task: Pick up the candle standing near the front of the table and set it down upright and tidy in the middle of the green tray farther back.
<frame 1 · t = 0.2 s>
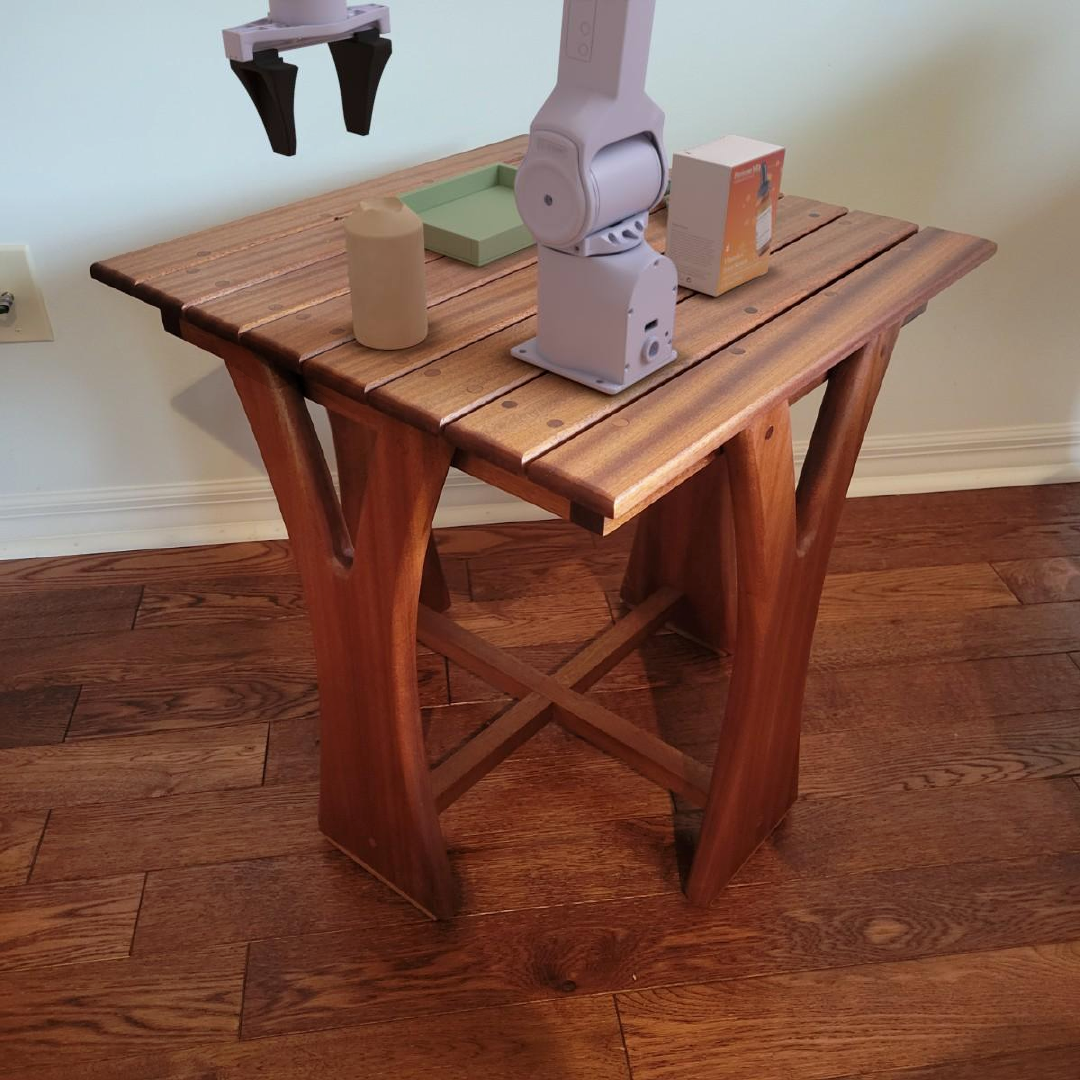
hand: (322, 143, 87), 10 cm above the table, tool pointing down, fingers open, 7 cm apart
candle: (391, 337, 82), on the table
small box: (715, 278, 92), on the table
green tray: (489, 221, 102), on the table
stuffed animal: (709, 215, 105), on the table
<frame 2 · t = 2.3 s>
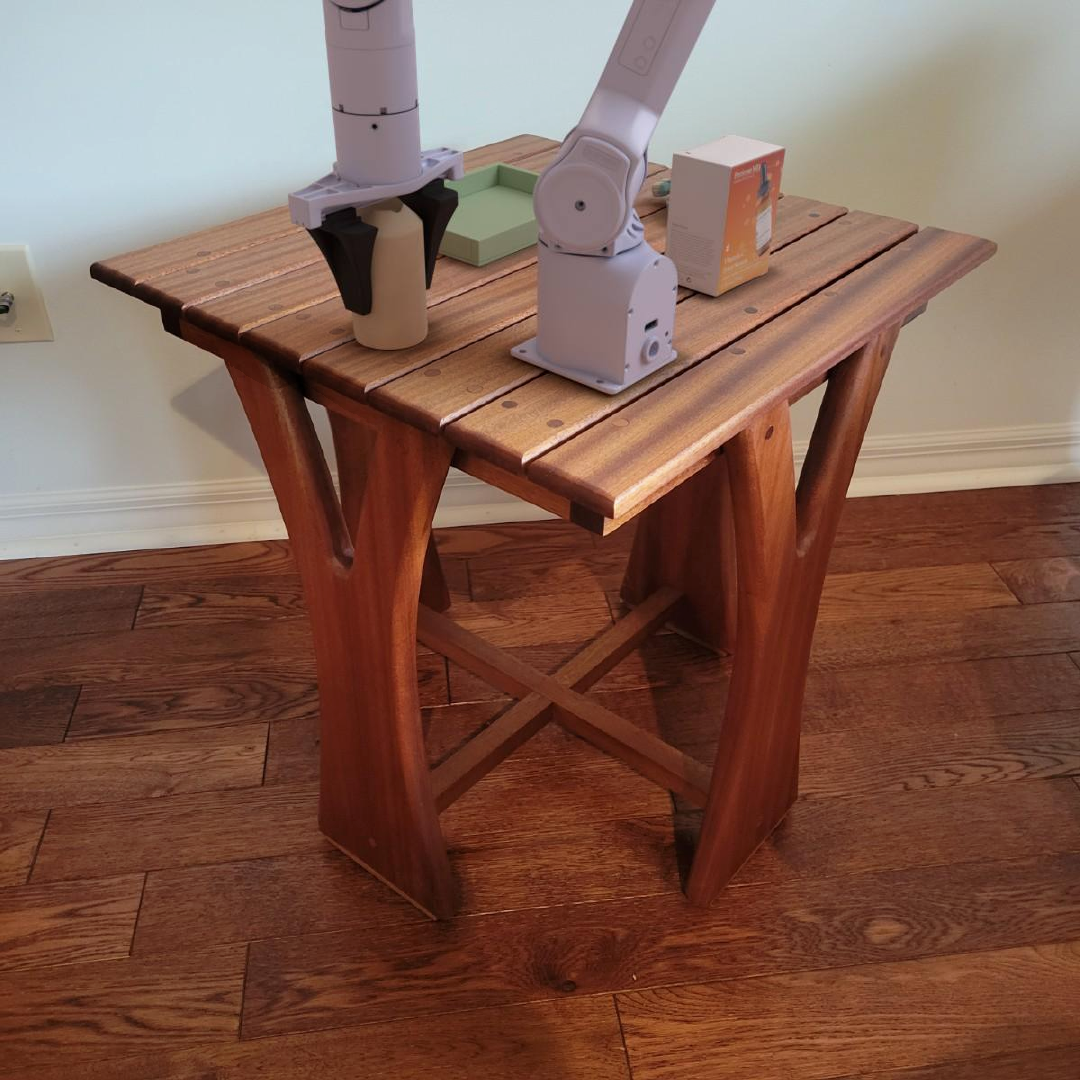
hand: (389, 298, 80), 3 cm above the table, tool pointing down, fingers closed on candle, 5 cm apart
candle: (391, 337, 82), on the table, touching gripper
everything else where it was.
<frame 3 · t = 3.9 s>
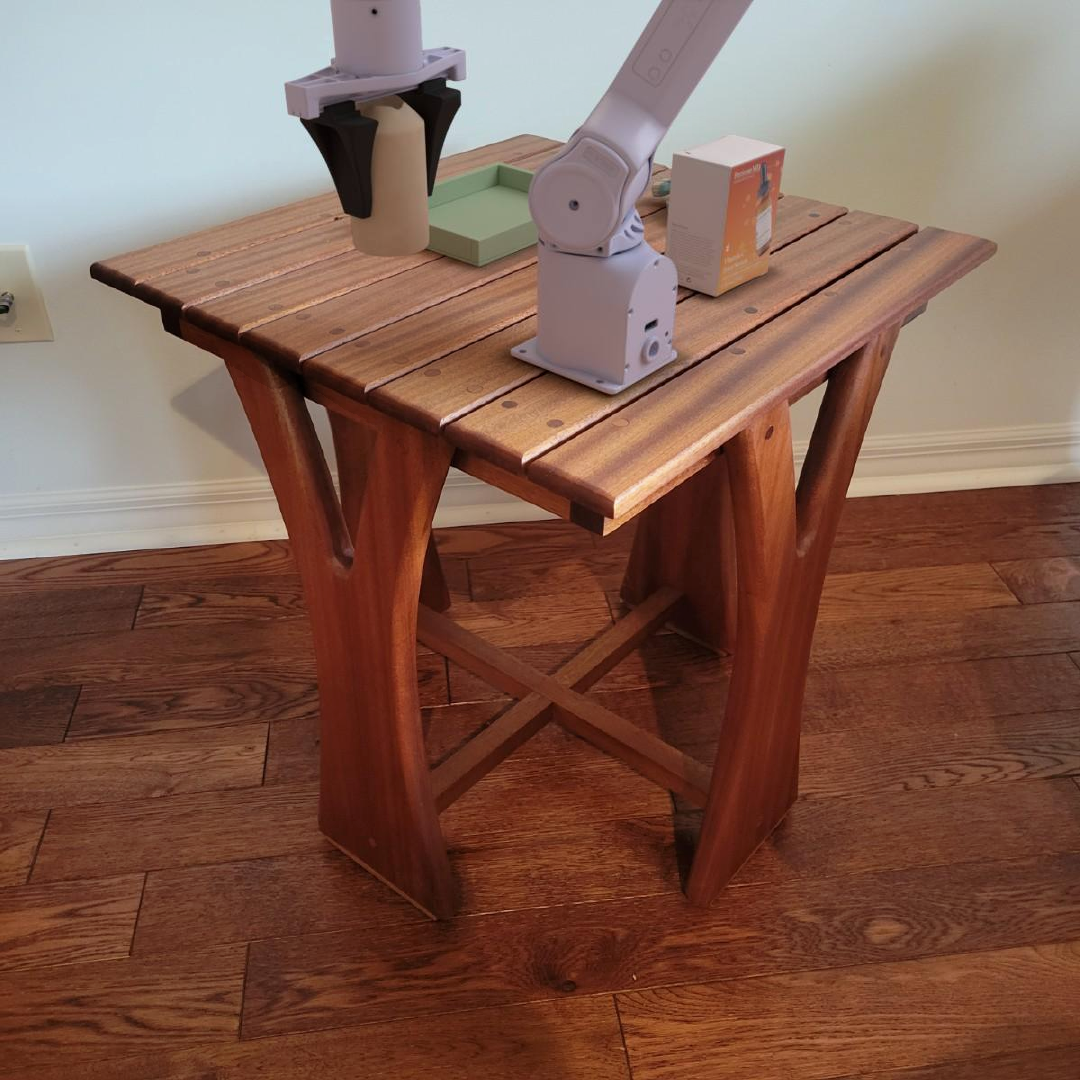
hand: (389, 204, 77), 9 cm above the table, tool pointing down, fingers closed on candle, 5 cm apart
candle: (391, 246, 79), point 6 cm above the table, touching gripper
everything else where it was.
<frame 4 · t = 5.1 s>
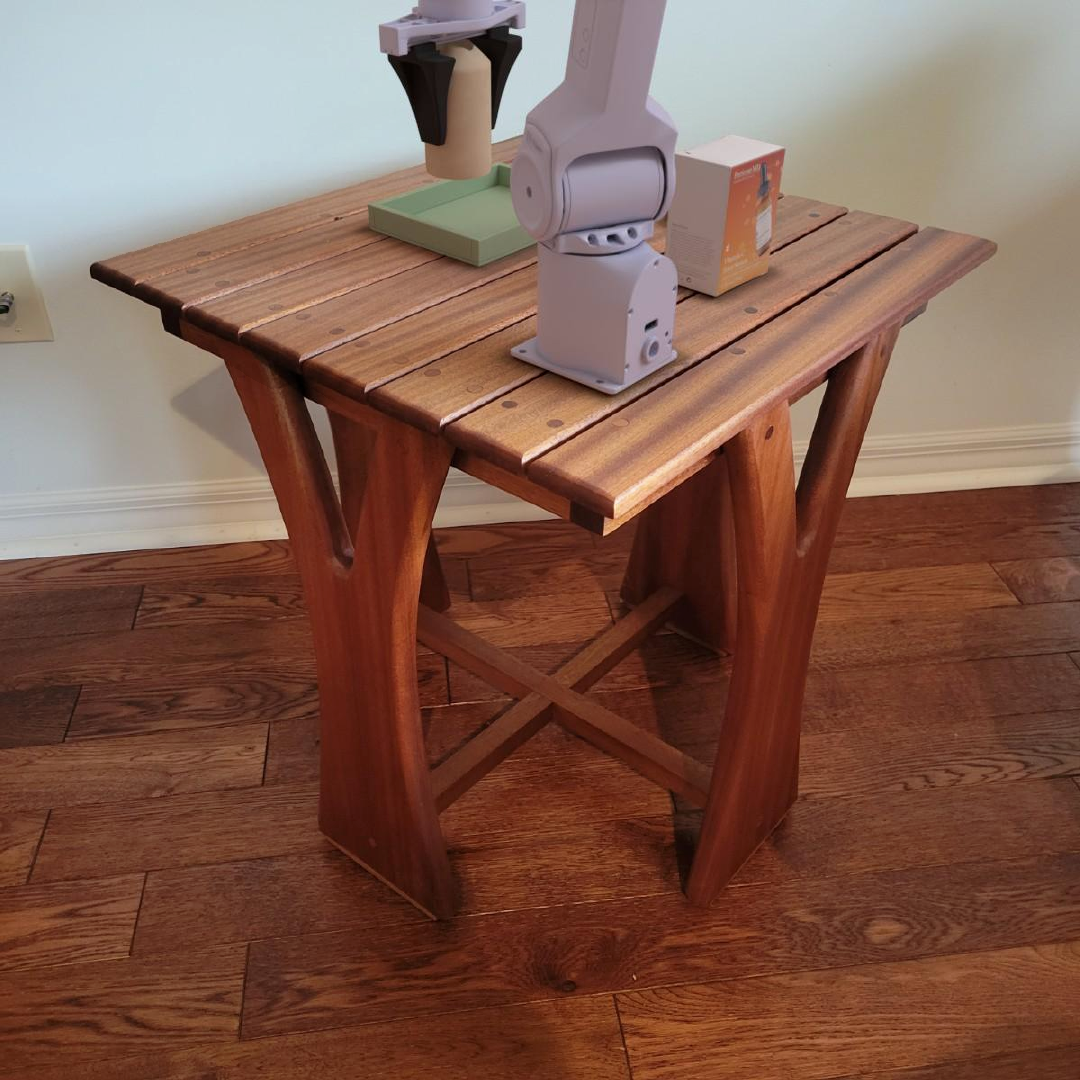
hand: (458, 135, 90), 10 cm above the table, tool pointing down, fingers closed on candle, 5 cm apart
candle: (458, 172, 92), point 7 cm above the table, touching gripper
everything else where it was.
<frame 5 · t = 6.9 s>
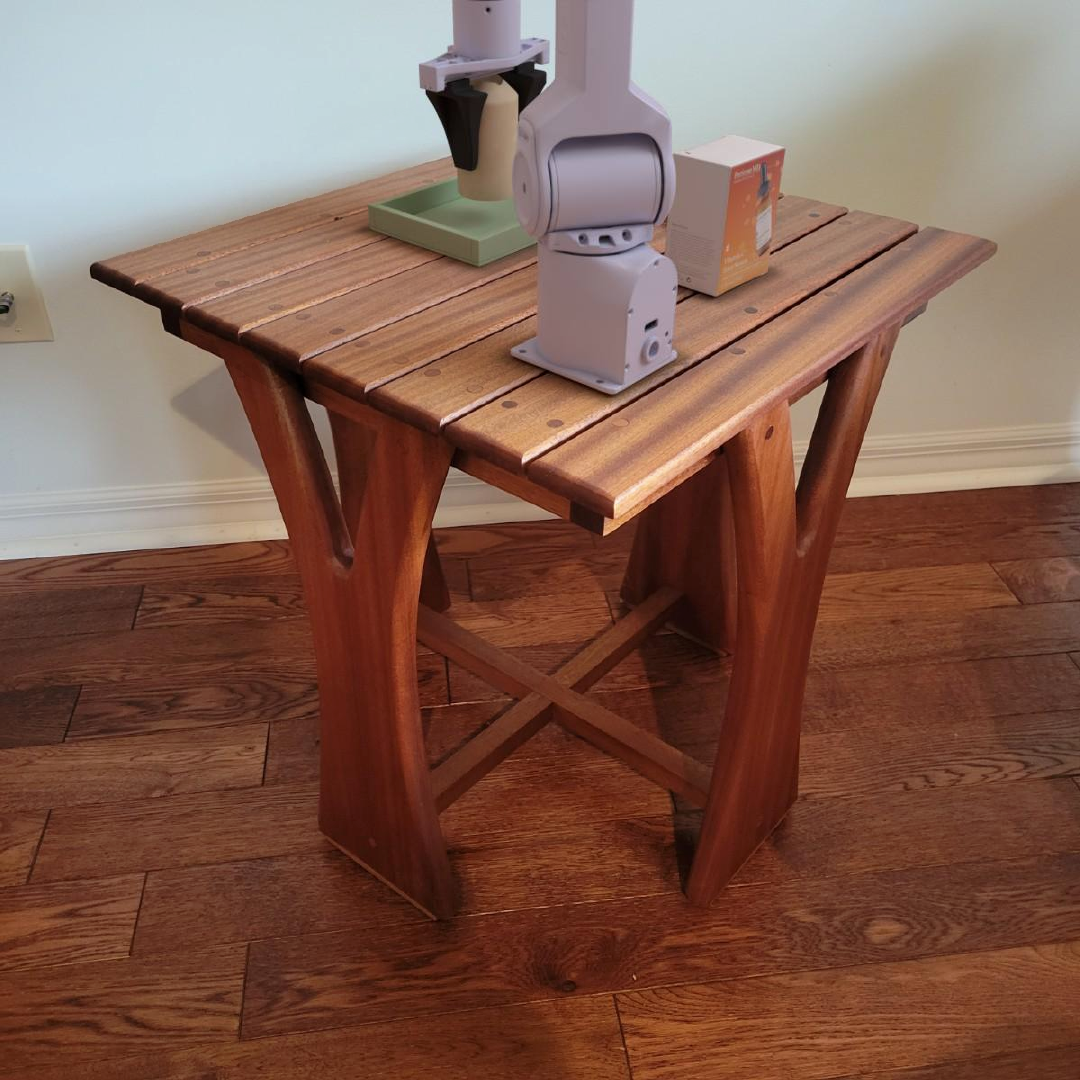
hand: (488, 160, 99), 6 cm above the table, tool pointing down, fingers closed on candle, 5 cm apart
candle: (487, 194, 101), point 3 cm above the table, touching gripper
everything else where it was.
when the fingers open (3 cm above the table, at t = 8.2 s): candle stays where it is, resting on green tray.
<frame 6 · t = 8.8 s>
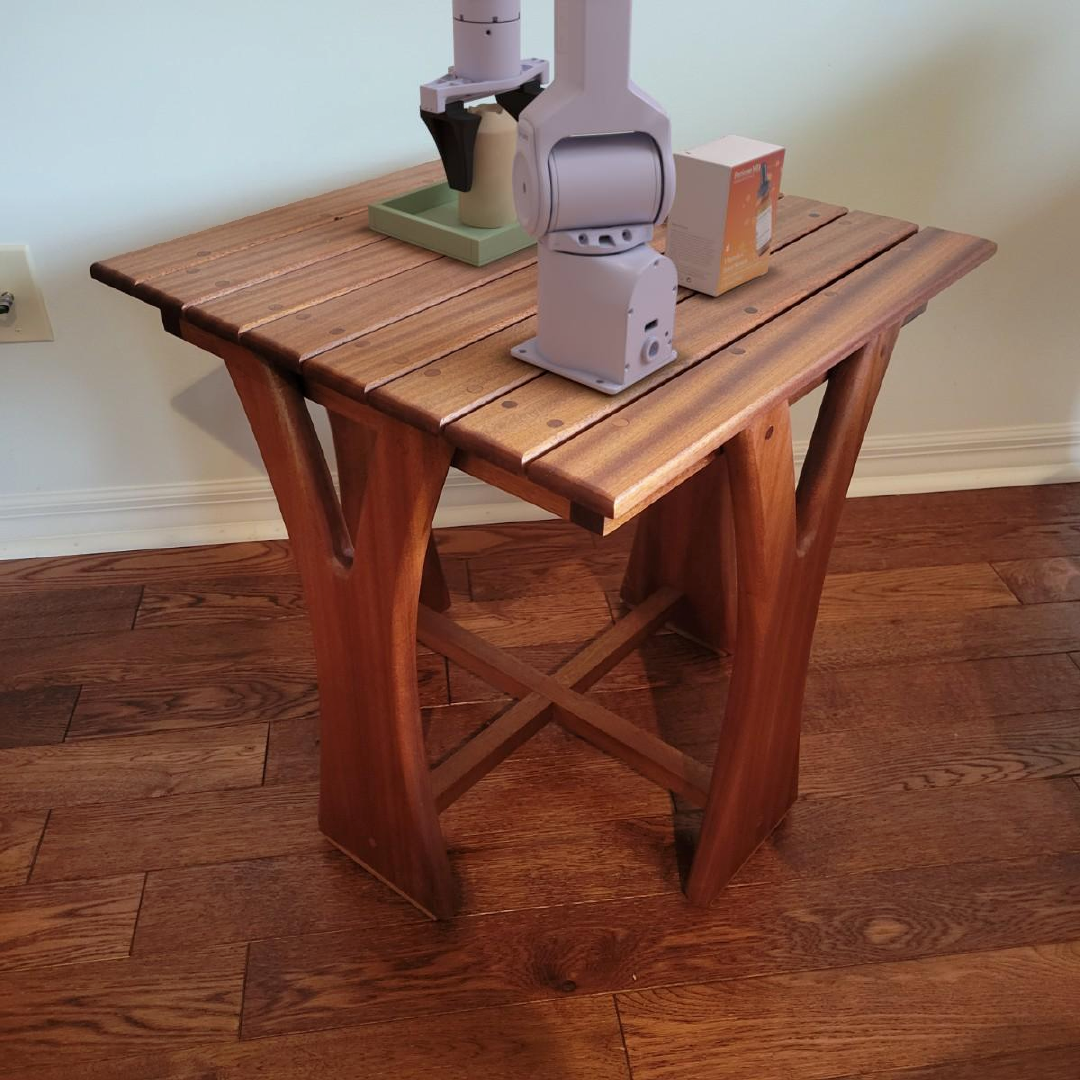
hand: (488, 179, 100), 4 cm above the table, tool pointing down, fingers open, 7 cm apart
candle: (488, 220, 102), resting on green tray
everything else where it was.
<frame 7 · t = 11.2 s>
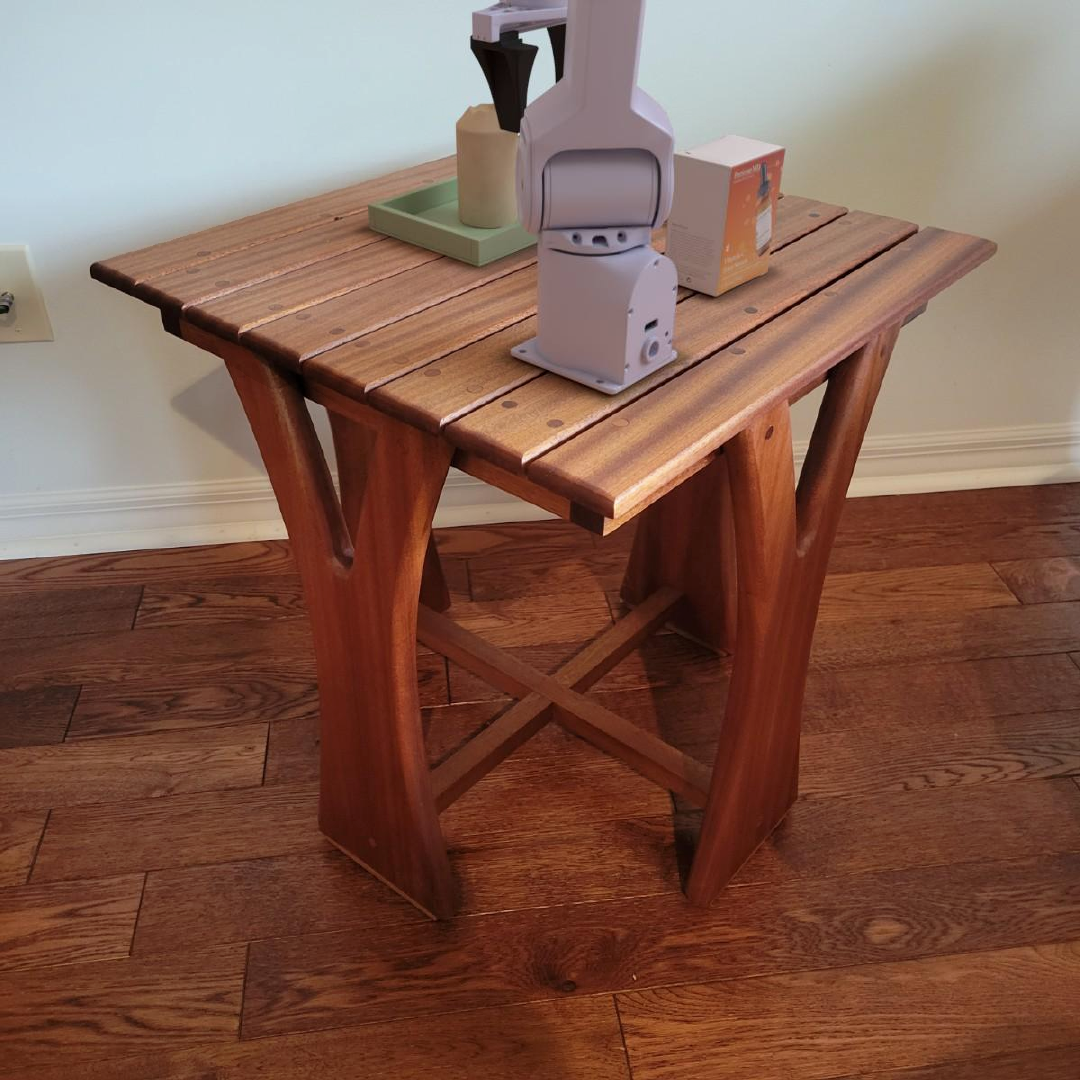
hand: (541, 121, 92), 10 cm above the table, tool pointing down, fingers open, 7 cm apart
nothing on the table moved.
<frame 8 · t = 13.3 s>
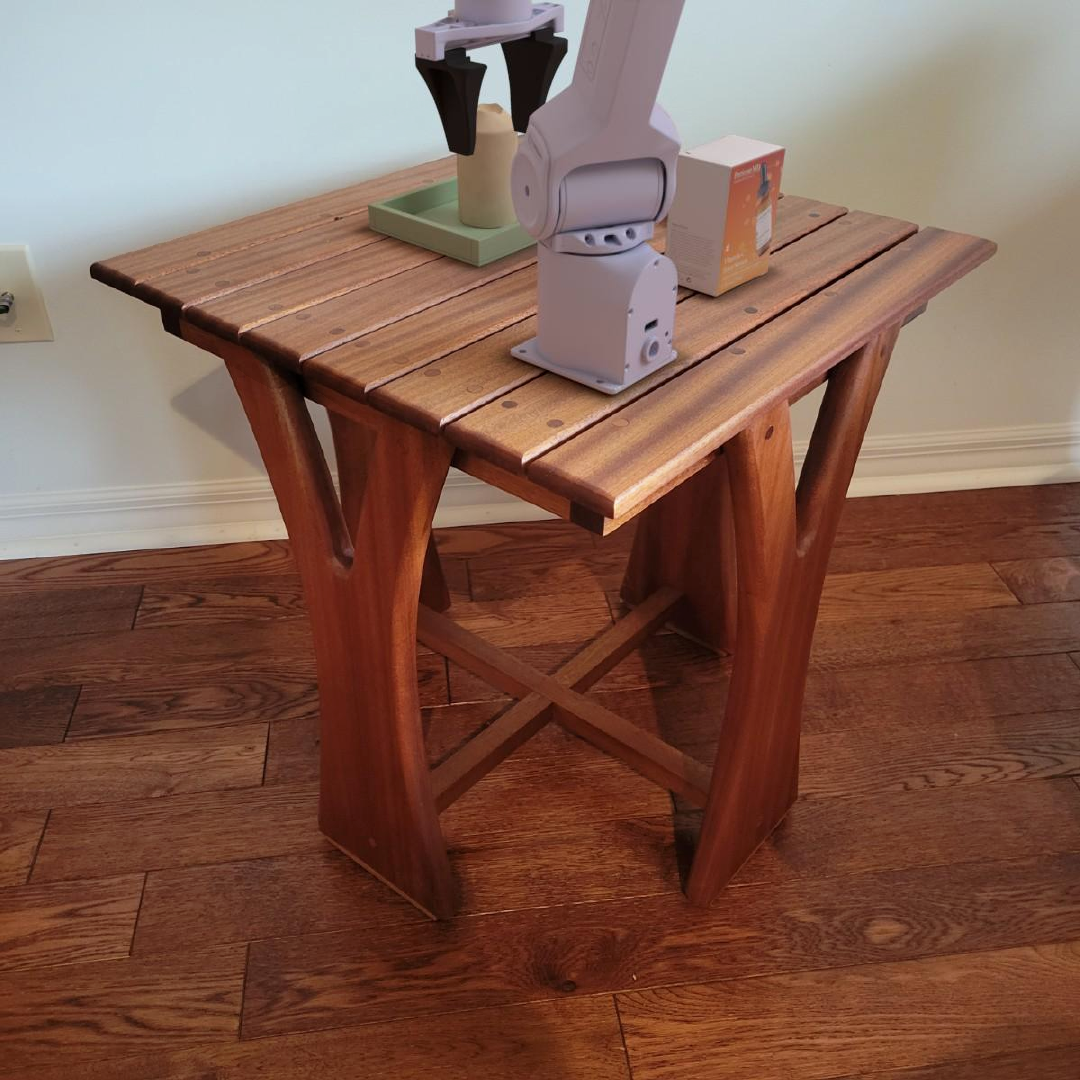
hand: (494, 142, 87), 10 cm above the table, tool pointing down, fingers open, 7 cm apart
nothing on the table moved.
at the end: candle inside the target area in the green tray (0.1 cm from its centre), point 0.1 cm above the green tray's base; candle tilted 0°; the gripper is holding nothing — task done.
